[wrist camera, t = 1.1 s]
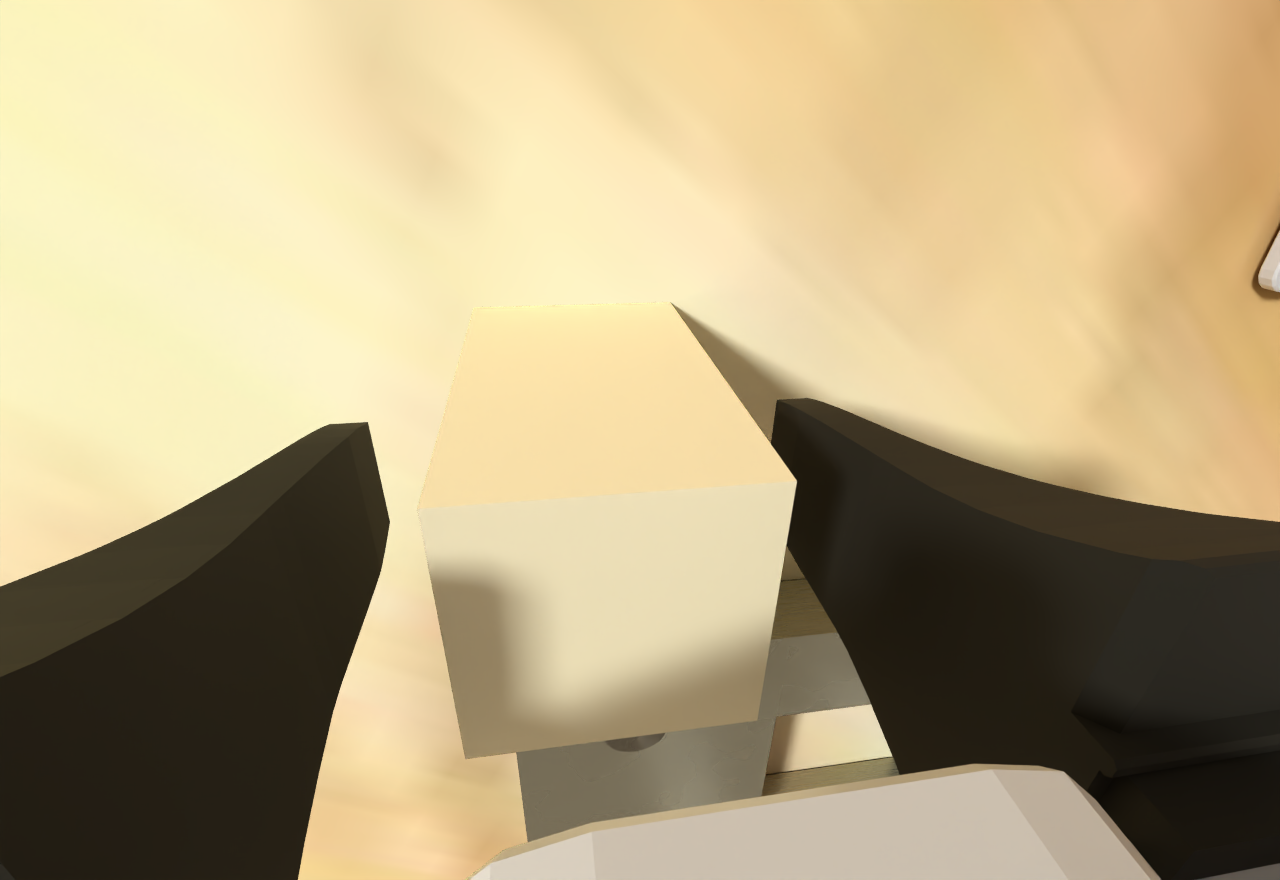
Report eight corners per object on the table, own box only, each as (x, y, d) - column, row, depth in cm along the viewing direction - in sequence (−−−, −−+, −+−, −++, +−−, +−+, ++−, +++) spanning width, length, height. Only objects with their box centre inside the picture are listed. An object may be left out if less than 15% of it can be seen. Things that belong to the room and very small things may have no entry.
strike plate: (1168, 543, 19) (1254, 603, 17) (1039, 780, 25) (1090, 848, 22) (508, 607, 16) (504, 690, 14) (537, 858, 22) (538, 945, 19)
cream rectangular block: (670, 302, 13) (796, 481, 7) (663, 465, 15) (756, 720, 9) (473, 307, 12) (416, 509, 6) (493, 477, 14) (465, 759, 8)
